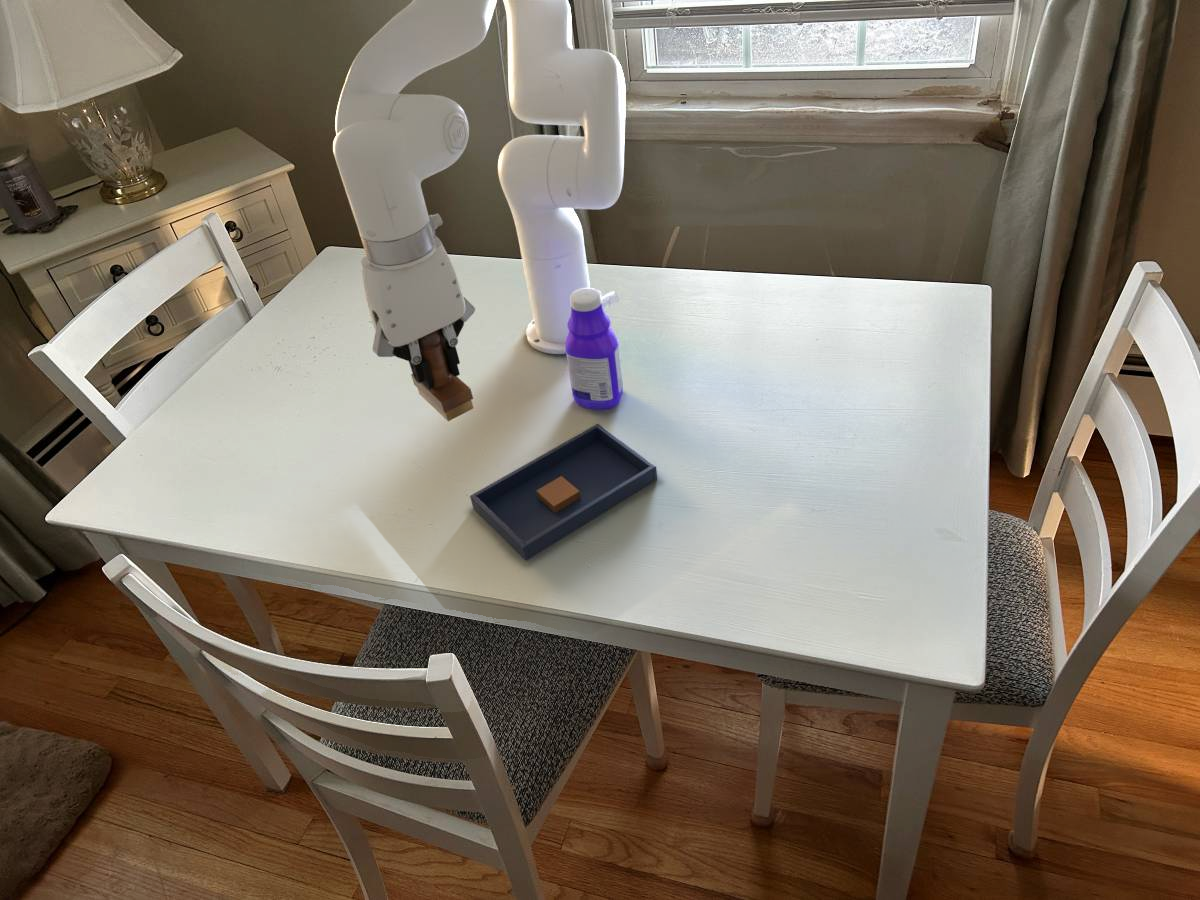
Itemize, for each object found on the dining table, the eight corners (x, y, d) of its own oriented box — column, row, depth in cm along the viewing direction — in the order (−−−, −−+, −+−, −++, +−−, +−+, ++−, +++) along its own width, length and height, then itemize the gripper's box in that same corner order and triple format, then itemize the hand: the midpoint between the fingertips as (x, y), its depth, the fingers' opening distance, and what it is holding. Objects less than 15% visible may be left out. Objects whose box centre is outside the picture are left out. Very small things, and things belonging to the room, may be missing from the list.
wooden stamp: (444, 380, 115) (423, 306, 108) (476, 408, 110) (455, 332, 103) (417, 394, 113) (393, 320, 106) (447, 423, 108) (424, 347, 101)
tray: (600, 438, 123) (597, 423, 121) (657, 482, 115) (656, 466, 113) (474, 511, 115) (469, 495, 113) (526, 563, 107) (522, 547, 105)
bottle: (629, 391, 130) (617, 285, 119) (617, 415, 126) (603, 308, 115) (582, 386, 132) (565, 281, 121) (569, 409, 128) (550, 304, 117)
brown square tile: (562, 482, 116) (561, 475, 115) (581, 497, 113) (579, 490, 113) (537, 497, 114) (535, 490, 114) (555, 513, 112) (553, 506, 111)
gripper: (447, 203, 103) (481, 337, 115) (315, 257, 97) (365, 393, 109) (480, 223, 98) (511, 361, 110) (344, 282, 92) (393, 422, 104)
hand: (438, 376), depth 109 cm, fingers closed on wooden stamp, 2 cm apart
